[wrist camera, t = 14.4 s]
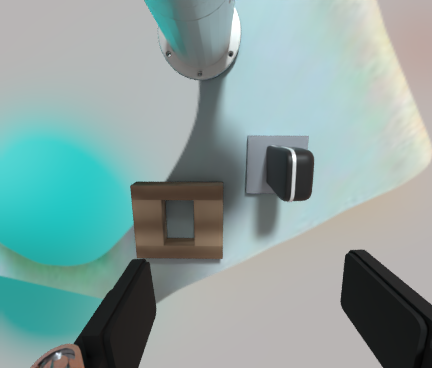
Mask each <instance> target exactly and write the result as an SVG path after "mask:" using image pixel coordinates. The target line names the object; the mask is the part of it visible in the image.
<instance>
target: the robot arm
mask: <svg viewBox="0 0 432 368" xmlns="http://www.w3.org/2000/svg"><path fill="white" fill-rule="evenodd" d="M144 1H145V3H146V5H147V6H148V8H149V10H150V12H151V13H152V15H153V17H154V19H155V20H156V22H157V24H158V39H159V44H160V47H161V51H162V53H163V55H164V57H165V59H166V60H167V61H168V63H169V64H170V65H171V66H172V67H173V69H174V70H176V71H177V72H178V73H179V74H181V75H183V76H185V77H187V78H190V79H194V80H207V79H211V78H214V77H216V76H218V75H220V74H221V73H223V72H224V71H225V70H226V69H227V68H228V67H229V66H230V65H231V63H232V62H233V61H234V59H235V57H236V55H237V52H238V49H239V46H240V40H241V25H240V19H239V16H238V13H237V10H236V8H235V7H234V5H235V0H144ZM169 54H171V56H170V57H168V55H169ZM229 54H231V55H232V57H229ZM199 73H201V74H202V75H201V76H199ZM341 306H342V309H343V310H344V312H345V313H346V314H347V316H348V318H349V319H350V321H351V322H352V323H353V325H354V326H355V327H356V329H357V331H358V332H359V333H360V335H361V336H362V338H363V339H364V341H365V342H366V343H367V345H368V347H369V348H370V349H371V351H372V352H373V353H374V355H375V357H376V358H377V359H378V361H379V362H380V364H381V365H382V367H383V368H432V305H431V304H430V303H429V302H427V301H426V300H425V299H424V298H422V297H421V296H420V295H419V294H418V293H417V292H415V291H414V290H413V289H412V288H410V287H409V286H408V285H407V284H406V283H404V282H403V281H402V280H401V279H399V278H398V277H397V276H396V275H395V274H393V273H392V272H391V271H390V270H389V269H387V268H386V267H385V266H384V265H382V264H381V263H380V262H379V261H378V260H376V259H375V258H373V256H371V255H370V254H369V253H368V252H366V251H365V250H350V251H349V253H348V254H346V255H345V263H344V272H343V282H342V292H341ZM155 316H156V303H155V296H154V289H153V283H152V276H151V269H150V263H149V262H146V260H145V259H133V260H132V261H131V262H130V263H129V265H128V266H127V268H126V269H125V271H124V273H123V274H122V276H121V277H120V279H119V280H118V282H117V283H116V285H115V286H114V288H113V289H112V290H110V291H109V292H108V293H107V295H106V296H105V298H104V299H103V301H102V302H101V304H100V305H99V307H98V308H97V310H96V311H95V313H94V314H93V316H92V317H91V319H90V320H89V322H88V323H87V325H86V326H85V327H84V329H83V330H82V332H81V334H80V335H79V336H78V338H77V339H76V341H75V342H74V344H64V345H60V346H58V347H56V348H53V349H51V350H50V351H48V352H47V353H45V354H44V355H43V356H41V357H40V358H39V359H38V360H37V361H36V362H35V363H34V364H33V365H32V366H31V368H138V367H139V364H140V361H141V358H142V355H143V352H144V349H145V346H146V343H147V340H148V337H149V334H150V331H151V328H152V325H153V322H154V319H155Z"/></svg>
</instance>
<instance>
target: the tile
mask: <svg viewBox="0 0 432 368" xmlns="http://www.w3.org/2000/svg"><path fill="white" fill-rule="evenodd" d="M308 139H309V136H248V147H247V174H246V193H269V194H276V193H275V192H274V191H273V190H272V188H271V187H270V186H269V185H268V184H267V182H266V179H267V147H268V146H271V145H274V146H282V147H298V148H303V149H306V150H307V149H308Z"/></svg>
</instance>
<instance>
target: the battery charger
mask: <svg viewBox="0 0 432 368" xmlns="http://www.w3.org/2000/svg"><path fill="white" fill-rule="evenodd" d="M313 172H314V156H313V154H312V153H311V152H310V151H309V150H306V149H303V148H298V147H282V146H274V145H271V146H268V147H267V179H266V182H267V184H268V185H269V186H270V187H271V188H272V190H273V191H274V192H275V193H276V195H277V196H278V197H279V198H280V199H281V200H283V201H287V202H292V201H304V200H307V199H309V198H310V196H311V193H312V184H313Z"/></svg>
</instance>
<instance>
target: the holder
mask: <svg viewBox="0 0 432 368" xmlns="http://www.w3.org/2000/svg"><path fill="white" fill-rule="evenodd" d="M130 188H131V198H132V209H133V220H134V231H135V242H136V252H137V258H196V259H222V258H223V182H136V183H134V184H133V185H131V186H130ZM165 200H194V236H195V238H167V220H166V202H165Z"/></svg>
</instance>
